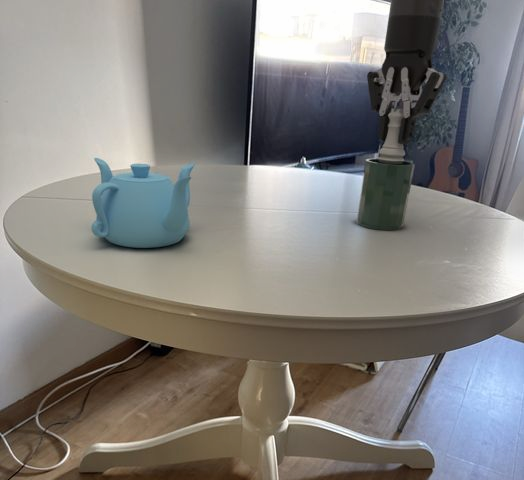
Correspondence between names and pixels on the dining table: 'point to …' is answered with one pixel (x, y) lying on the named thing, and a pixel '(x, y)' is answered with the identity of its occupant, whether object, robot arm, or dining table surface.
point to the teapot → (141, 207)
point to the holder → (384, 194)
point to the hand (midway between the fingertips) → (393, 141)
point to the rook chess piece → (393, 140)
